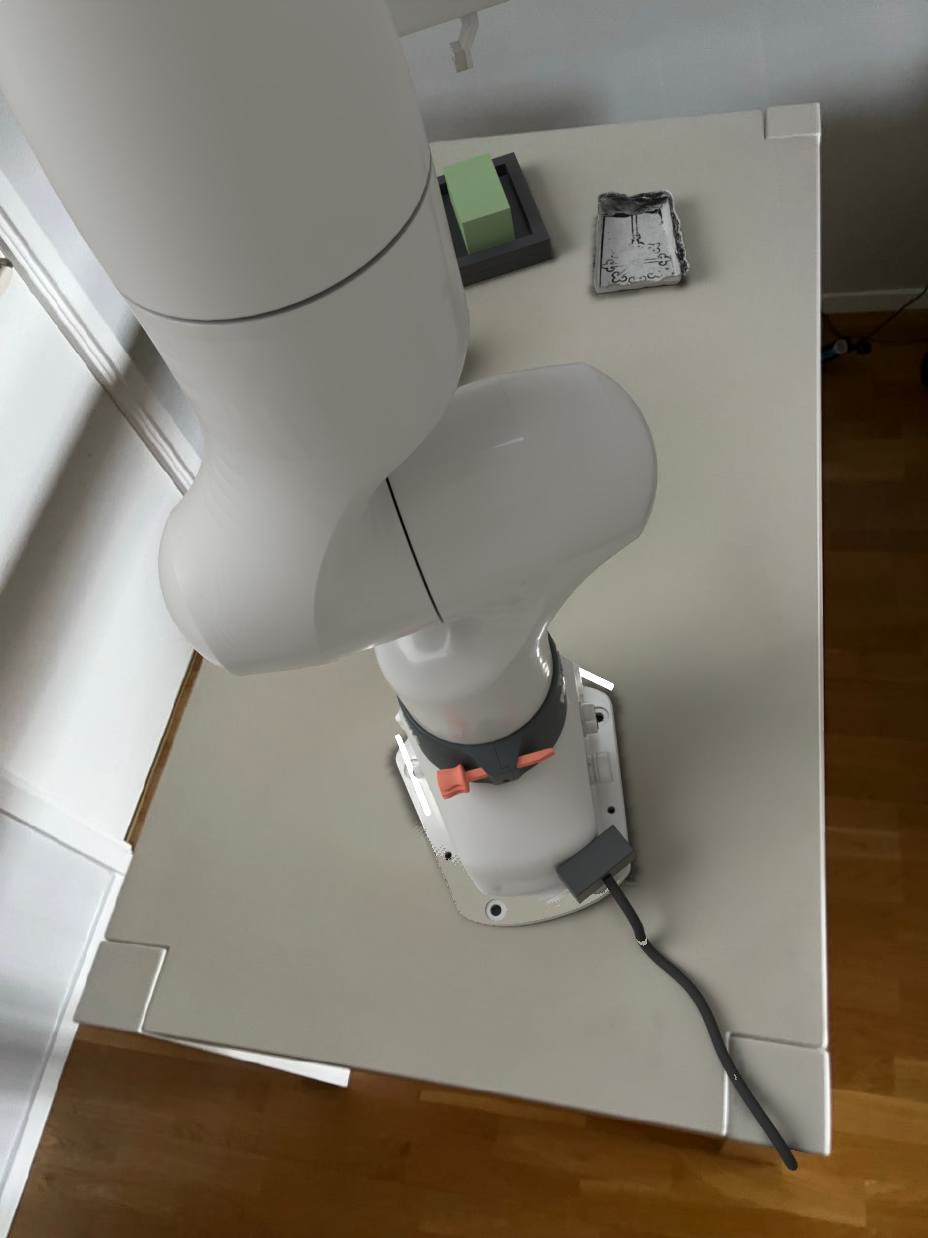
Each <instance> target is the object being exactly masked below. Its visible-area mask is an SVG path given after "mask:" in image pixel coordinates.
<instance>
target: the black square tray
mask: <svg viewBox="0 0 928 1238" xmlns="http://www.w3.org/2000/svg"><path fill="white" fill-rule="evenodd" d="M491 159H492V162H493V164H494V167H495V170H496V172H497V175H498V177H499V180H500V182H501V185H502V188H503V190H504V193H505V195H506V198H507V201H508V203H509V206H510V209H511V215H512V222H513V228H514V234H515V240H513V241H510V242H507V243H504V244H501V245H498V246H495V247H492V248H489V249H485V250H482V251H479V252H476V253H473V254H470V255H469V254H468V251H467V248H466V245H465V242H464V239H463V236H462V233H461V230H460V227H459V224H458V221H457V218H456V215H455V212H454V209H453V206H452V204H451V200H450V196H449V192H448V187H447V183H446V179H445V174H442V175H439V176H438V175H437V179H438V184H439V188H440V192H441V196H442V200H443V204H444V209H445V213H446V217H447V221H448V225H449V230H450V234H451V238H452V242H453V246H454V251H455V255H456V259H457V263H458V267H459V271H460V275H461V279H462V283H463V287H465V286H469V285H472V284H475V283H478V282H481V281H484V280H487V279H491V278H493V277H497V276H500V275H503V274H507V273H509V272H510V273H511V272H512V271H516V270H519V269H522V268H526V267H528V266H531V265H535V264H537V263H541V262H543V261H547V260H551V259H553V253H552V252H553V251H552V243H551V237H550V235H549V233H548V230H547V228H546V226H545V223H544V220H543V218H542V216H541V214H540V210H539V209H538V206H537V205H536V202H535V199H534V197H533V195H532V192H531V190H530V187H529V185H528V182H527V180H526V177H525V174H524V173H523V170H522V168H521V165H520V163H519V161H518V158H517V156H516V153H515V152H514V151H511V152H510V153H506V154H503V155H500V156H496V157H494V158H491Z"/></svg>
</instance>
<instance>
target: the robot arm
mask: <svg viewBox="0 0 928 1238" xmlns="http://www.w3.org/2000/svg"><path fill="white" fill-rule="evenodd" d="M509 1H510V0H0V91H1V93H2V95H3V97H4V99H5V102H6V103H7V106H8V107H9V110H10V112H11V114H12V115H13V117H14V119H15V121H16V123H17V125H18V127H19V128H20V130H21V132H22V134H23V136H24V138H25V139H26V141H27V144H28V145H29V147H30V149H31V151H32V152H33V155H34V156H35V159H36V161H37V162H38V164H39V166H40V168H41V169H42V171H43V173H44V175H45V177H46V179H47V180H48V182H49V184H50V186H51V188H52V189H53V191H54V192H55V194H56V196H57V198H58V199H59V201H60V202H61V204H62V206H63V207H64V209H65V211H66V213H67V214H68V216H69V218H70V219H71V221H72V223H73V225H74V226H75V228H76V229H77V231H78V233H79V235H80V236H81V238H82V239H83V241H84V242H85V244H86V245H87V247H88V248H89V250H90V252H91V253H92V254H93V256H94V258H95V259H96V261H97V262H98V263H99V265H100V267H101V268H102V270H103V272H104V273H105V274H106V276H107V278H108V279H109V280H110V282H111V283H112V284H113V286H114V288H115V289H116V291H117V292H118V293H119V295H120V297H121V298H122V299H123V300H124V302H125V304H126V305H127V306H128V308H129V309H130V311H131V312H132V314H133V315H134V316H135V318H136V320H137V321H138V323H139V324H140V326H141V327H142V329H143V330H144V332H145V333H146V335H147V336H148V337H149V338H148V339H150V341H151V342H152V344H153V345H154V347H155V349H156V350H157V352H158V354H159V355H160V357H161V358H162V360H163V361H164V363H165V364H166V366H167V368H168V370H169V371H170V373H171V375H172V376H173V378H174V379H175V381H176V383H177V384H178V386H179V388H180V391H182V393H183V395H184V397H185V399H186V401H187V403H188V404H189V406H190V408H191V410H192V412H193V414H194V416H195V417H196V420H197V422H198V425H199V428H200V432H201V437H202V444H203V445H202V446H203V448H202V449H203V451H202V457H201V462H200V464H199V469H198V470H197V473H196V476H195V478H194V480H193V482H192V483H191V485H190V487H189V488H188V489H187V491H186V493H185V494H184V495H183V496H182V498H181V499H180V500H179V501H178V502H177V504H175V505H174V506H173V508H172V509H171V511H170V512H169V515H168V516H167V519H166V522H165V523H164V526H163V530H162V533H161V537H160V541H159V542H160V543H159V548H158V555H157V556H158V557H157V573H158V582H159V587H160V592H161V596H162V600H163V603H164V605H165V608H166V610H167V613H168V615H169V617H170V619H171V620H172V623H173V624H174V626H175V627H176V629H177V631H178V632H179V633H180V635H181V636H182V637H183V639H185V641H186V642H187V644H189V646H191V648H192V649H194V650H195V651H196V652H197V653H198V654H199V655H200V656H202V658H204V659H205V660H206V661H208V662H210V663H211V664H212V665H214V666H216V667H218V668H219V669H221V670H223V671H225V672H227V673H229V674H232V675H233V676H236V677H246V676H255V675H262V674H272V673H277V672H278V673H281V672H287V671H293V670H298V669H305V668H309V667H310V668H311V667H316V666H323V665H329V664H331V663H334V662H337V661H340V660H342V659H345V658H348V657H351V656H354V655H356V654H359V653H362V652H365V651H368V650H371V649H374V654H375V659H376V661H377V665H378V667H379V670H380V671H381V674H382V675H383V677H384V678H385V680H386V681H387V683H388V684H389V686H390V687H391V689H392V690H393V691H394V692H395V694H396V698H397V701H398V705H399V709H398V712H397V714H396V715H395V716H394V717H395V721H396V723H397V724H399V726H400V727H401V728H402V729H403V730H404V732H405V733H406V737H407V738H406V740H405V741H404V742H403V739H402V737H401V736H400V734H397V735H395V739H396V741H397V744H398V746H399V748H398V750H397V751H396V755H395V763H396V766H397V768H398V771H399V773H400V776H401V779H402V780H403V783H404V785H405V788H406V791H407V793H408V795H409V798H410V799H411V802H412V804H413V805H414V809H415V811H416V813H417V816H418V818H419V821H420V823H421V825H422V827H423V830H424V833H425V835H426V834H427V835H426V838H427V839H428V838H429V840H428V842H429V841H431V844H433V845H432V847H431V849H432V848H433V849H434V847H436V848H435V849H434V851H433V849H432V851H433V853H434V852H436V850H438V849H439V850H438V852H437V853H436V856H437V855H439V853H441V852H442V853H441V855H440V856H443V855H444V854H443V853H445V856H444V857H445V858H446V859H448V860H449V859H450V858H452V857H455V855H457V856H456V857H455V858H454V859H453V860H452V862H454V860H457V859H456V858H460V859H459V860H458V861H461V862H462V864H461V865H463V866H464V868H465V870H466V871H467V873H468V875H469V876H470V877H471V879H472V880H473V881H474V883H475V885H476V886H477V888H478V889H479V890H480V891H481V892H482V893H484V894H485V895H489V896H492V897H495V896H496V897H502V898H504V897H510V898H512V897H515V896H520V897H528V898H531V897H534V896H533V895H535V896H538V895H541V897H540V898H539V899H538V900H542V899H546V898H549V897H552V896H555V895H558V896H556V897H554V898H552V899H550V900H549V901H547V902H546V903H549V902H552V903H553V901H555V902H557V901H556V900H559V899H561V898H562V897H565V896H567V895H566V894H568V893H571V894H572V896H573V897H574V898H575V899H576V901H577V902H578V903H579V904H581V903H582V902H583V901H584V900H585V899H587V898H588V897H589V896H590V895H592V894H595V895H596V894H600V893H602V894H603V892H604V893H605V890H606V889H607V888H608V890H609V891H607V892H606V893H605V894H603V895H602V896H600V897H599V898H597V899H595V900H593V901H591V902H590V903H587V904H585V905H583V906H581V907H579V908H576V909H573V910H571V911H568V912H565V913H562V914H559V915H555V916H552V917H548V918H544V919H540V920H535V921H529V922H523V923H513V924H496V923H488V924H487V925H486V926H491V927H520V926H521V927H522V926H528V925H533V924H538V923H543V922H547V921H551V920H555V919H558V918H561V917H564V916H569V915H571V914H574V913H576V912H579V911H581V910H583V909H586V908H588V907H590V906H592V905H594V904H596V903H598V902H600V901H601V900H603V899H604V898H605V897H607V896H609V895H610V894H611V896H612V897H613V899H614V900H615V902H616V903H617V906H618V907H619V908H620V910H621V911H622V913H623V915H624V916H625V918H626V919H627V921H628V922H629V924H630V926H631V928H632V929H633V930H632V931H633V933H634V937H635V940H636V939H637V940H638V941H640V942H642V941H645V939H646V937H647V935H646V931H645V927H644V924H643V922H642V920H641V919H640V917H639V914H638V913H637V911H636V910H635V908H634V907H633V906H632V904H631V902H630V901H629V899H628V897H627V896H626V895H625V893H624V891H623V890H622V889H621V887H620V885H621V884H622V883H623V882H624V881H625V880H626V878H627V877H628V876H629V874H630V873H631V869H632V863H633V861H635V860H636V852H635V848H634V847H633V846H632V845H631V843H630V842H629V833H628V825H627V815H626V808H625V799H624V792H623V791H624V790H623V784H622V774H621V765H620V757H619V748H618V740H617V732H616V722H615V714H614V705H613V703H612V701H611V697H610V696H609V695H608V694H607V693H605V692H604V691H602V690H600V689H597V688H594V687H592V686H587V685H583V679H582V678H585V679H587V680H589V681H592V682H594V683H595V684H597V685H600V686H602V687H604V688H606V689H608V690H610V691H612V690H613V688H614V683H612V682H610V681H608V680H606V679H604V678H601V677H599V676H597V675H595V674H593V673H591V672H590V671H587V670H585V669H583V668H581V667H580V665H579V663H577V662H574V660H572V659H570V658H568V657H566V656H564V655H562V654H560V652H559V650H558V649H557V644H556V642H555V641H554V639H553V637H552V636H551V633H550V632H549V630H548V628H549V625H550V624H551V622H552V621H553V619H554V618H555V616H556V615H557V614H558V612H559V611H560V609H561V608H562V607H563V606H564V604H565V603H566V602H567V600H568V599H569V598H570V597H571V596H572V594H573V593H574V592H575V591H576V590H577V589H578V588H579V587H580V586H581V585H582V583H583V582H585V580H586V579H588V578H589V577H590V576H591V575H592V574H593V573H594V572H595V571H596V570H598V569H599V568H600V567H601V566H602V565H604V564H605V563H606V562H607V561H609V560H610V559H611V558H612V557H614V556H615V555H617V553H619V552H620V551H622V550H623V549H625V548H626V547H628V546H629V545H630V544H632V543H633V542H634V541H636V540H638V539H639V538H640V537H641V535H642V533H643V532H644V529H645V528H646V526H647V523H648V521H649V519H650V516H651V515H652V514H651V513H652V511H653V508H654V504H655V500H656V497H657V496H656V495H657V490H658V476H659V475H658V474H659V473H658V472H659V469H658V468H659V465H658V456H657V451H656V445H655V444H656V443H655V441H654V437H653V434H652V431H651V429H650V426H649V423H648V422H647V420H646V418H645V416H644V414H643V411H642V410H641V409H640V407H639V406H638V405H637V403H636V401H635V400H634V399H633V397H632V396H631V395H630V394H629V393H628V391H626V390H625V389H624V388H623V386H622V385H620V384H619V383H618V382H617V381H616V380H614V378H612V377H611V376H610V375H608V374H607V373H605V372H603V371H601V369H599V368H597V367H595V366H593V365H591V364H588V363H586V362H583V361H577V362H569V363H562V364H554V365H546V366H537V367H533V368H531V367H530V368H526V369H520V370H514V371H513V370H512V371H508V372H501V373H495V374H491V375H488V376H485V377H483V378H480V379H476V380H473V381H471V382H469V383H466V384H463V385H460V386H458V385H459V382H460V379H461V376H462V372H463V369H464V365H465V361H466V357H467V351H468V347H469V339H470V329H471V325H470V324H471V321H470V319H471V318H470V311H469V310H470V308H469V304H468V300H467V296H466V292H465V288H464V286H463V283H462V279H461V275H460V271H459V267H458V263H457V259H456V255H455V251H454V246H453V242H452V238H451V234H450V230H449V225H448V221H447V217H446V213H445V209H444V204H443V200H442V196H441V192H440V188H439V184H438V179H437V177H438V175H437V172H436V167H435V163H434V157H433V154H432V150H431V146H430V143H429V138H428V134H427V129H426V127H425V124H424V123H425V122H424V120H423V116H422V111H421V108H420V104H419V100H418V96H417V92H416V89H415V85H414V82H413V79H412V76H411V73H410V69H409V67H408V63H407V60H406V57H405V54H404V51H403V47H402V44H401V41H400V38H403V37H405V36H408V35H411V34H415V33H417V32H421V31H423V30H427V29H429V28H433V27H435V26H439V25H442V24H445V23H447V22H450V21H454V20H456V19H457V20H459V22H460V24H461V27H460V30H459V31H460V32H459V35H458V40H455V41H453V42H450V43H449V49H450V53H451V60H452V63H453V66H454V69H455V72H456V73H457V74H458V73H461V72H464V71H468V70H470V69H473V68H474V64H473V59H472V53H471V49H472V48H473V44H474V41H475V38H476V35H477V32H478V29H479V26H480V22H479V21H480V20H479V15H478V12H481V11H483V10H485V9H486V10H487V9H490V8H492V7H496V6H498V5H502V4H504V3H508V2H509ZM598 716H600V717H602V718H603V719H602V721H600V722H599V720H598V719H597V717H598ZM610 810H613V811H614V812H612V813H610V812H609V811H610ZM425 829H426V830H425ZM425 831H426V832H425ZM431 844H430V845H431ZM442 845H443V846H442ZM440 847H441V848H440ZM443 848H446V849H445V850H444V849H443ZM442 850H444V851H442ZM445 851H449V852H445ZM449 855H451V856H450V858H448V856H449ZM436 856H435V859H436V860H437V858H436ZM440 856H439V857H440ZM443 859H444V858H443ZM441 861H442V860H441ZM458 861H457V863H459V862H458ZM438 865H439V864H438ZM455 865H456V864H455ZM461 865H460V866H461ZM439 867H440V865H439ZM463 870H464V869H463ZM441 874H443V872H442V871H441ZM443 877H444V876H443ZM444 879H445V877H444ZM617 880H618V881H619V880H620V881H619V882H618V881H617ZM617 882H618V883H617ZM446 885H447V886H448V884H447V883H446ZM566 889H568V890H569V891H567V890H566ZM564 890H566V891H567V892H565V893H563V894H560V892H561V893H562V891H563V892H564ZM449 892H450V893H451V891H450V890H449ZM554 894H555V895H554ZM559 894H560V895H559ZM551 895H552V896H551ZM564 895H565V896H564ZM568 895H569V894H568ZM530 896H531V897H530ZM548 896H549V897H548ZM561 896H562V897H561ZM451 897H452V899H453V900H454V898H453V896H452V895H451ZM544 897H545V898H544ZM560 897H561V898H560ZM516 898H517V897H516ZM541 898H542V899H541ZM538 900H537V901H538ZM546 900H547V899H546ZM559 901H560V900H559ZM546 903H545V904H546ZM549 904H550V903H549ZM546 905H547V904H546ZM455 906H456V908H457V910H458V911H459V909H458V907H457V905H456V904H455ZM558 906H560V905H558ZM495 907H500V908H501V909H500V910H501V911H500V913H499V914H498V915H494V914H493V909H494V908H495ZM556 907H557V906H556ZM506 911H507V908H506V905H505V903H504V902H503V901H502V900H500V899H492V900H490V901H489V902H488V903H487V904H486V907H485V914H486V916H487V918H488V919H489V920H490V919H491V921H494V922H497V921H500V920H502V919H503V918H504V917H505V915H506ZM459 913H460V915H461V914H462V913H461V912H459ZM492 917H493V918H492ZM467 920H468V921H471V919H470V918H469V919H467ZM477 922H479V921H477V920H475V921H474V922H473V923H477ZM479 924H480V925H485V923H484V922H482V921H481V923H479ZM492 924H495V926H493V925H492ZM502 925H503V926H502ZM637 940H636V941H637ZM637 944H638V945H639V948H640V949H641V950H642V951H643V952H644V953H645V954H646V955H647V957H648V958H649V959H650V960H651V961H652V962H653V963H655V964H656V965H657V966H658V967H659V968H660V969H661V970H662V971H664V972H665V973H666V974H667V975H669V976H670V977H671V978H672V979H673V980H674V981H675V982H676V983H677V984H678V985H680V987H681V988H682V989H683V990H684V991H685V992H686V993H687V994H688V996H689V997H690V998H691V1000H692V1002H693V1003H694V1004H695V1006H696V1008H697V1010H698V1012H699V1014H700V1015H701V1018H702V1020H703V1022H704V1024H705V1027H706V1030H707V1033H708V1035H709V1038H710V1041H711V1043H712V1046H713V1048H714V1050H715V1053H716V1055H717V1057H718V1060H719V1062H720V1064H721V1066H722V1067H723V1070H724V1071H725V1073H726V1075H727V1077H728V1078H729V1080H730V1081H731V1083H732V1085H733V1087H734V1088H735V1090H736V1091H737V1093H738V1095H739V1096H740V1097H741V1099H742V1101H743V1103H744V1104H745V1105H746V1107H747V1108H748V1111H750V1113H751V1114H752V1116H753V1117H754V1119H755V1120H756V1122H757V1123H758V1124H759V1126H760V1127H761V1129H762V1130H763V1132H764V1133H765V1135H766V1136H767V1138H768V1139H769V1141H770V1142H771V1144H772V1146H773V1147H774V1148H775V1147H776V1148H775V1150H776V1152H777V1153H778V1155H779V1157H780V1158H781V1161H783V1164H784V1165H785V1167H786V1168H787V1170H790V1171H791V1172H795V1171H797V1170H798V1168H799V1165H798V1161H797V1159H796V1157H795V1156H794V1154H793V1152H792V1151H791V1148H790V1147H789V1145H788V1144H787V1142H786V1141H785V1139H784V1138H783V1136H782V1135H781V1133H780V1132H779V1130H778V1128H777V1127H776V1126H775V1125H774V1123H773V1121H772V1120H771V1119H770V1117H769V1115H768V1114H767V1112H766V1111H765V1110H764V1109H763V1107H762V1105H761V1104H760V1103H759V1101H758V1100H757V1098H756V1097H755V1095H754V1094H753V1093H752V1091H751V1089H750V1088H749V1086H748V1085H747V1083H746V1081H745V1080H744V1078H743V1077H742V1075H741V1073H740V1071H739V1069H738V1068H737V1066H736V1065H735V1063H734V1061H733V1058H732V1057H731V1055H730V1052H729V1051H728V1049H727V1046H726V1044H725V1042H724V1041H725V1040H724V1039H723V1036H722V1034H721V1031H720V1028H719V1026H718V1023H717V1021H716V1018H715V1016H714V1013H713V1011H712V1009H711V1007H710V1006H709V1005H710V1004H708V1002H707V1000H706V998H705V997H704V996H703V994H702V992H701V991H700V990H699V988H698V987H697V986H696V984H694V982H693V981H692V980H691V979H690V978H689V977H688V976H687V975H686V974H685V973H684V972H683V971H682V970H681V969H680V968H679V967H677V966H676V965H674V963H673V962H671V961H670V960H668V959H667V957H665V956H664V955H663V954H662V953H661V952H659V951H658V949H657V948H655V946H654V945H653V944H652V942H650V940H649V939H648V938H647V944H646V945H644V946H643V945H640V944H639V943H638V942H637ZM734 1074H735V1075H736V1077H737V1078H736V1079H737V1080H735V1076H734Z"/></svg>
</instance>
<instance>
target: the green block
mask: <svg viewBox="0 0 928 1238" xmlns="http://www.w3.org/2000/svg"><path fill="white" fill-rule="evenodd" d="M492 159H493V158H492V157H491V154H490V152H487V153H484V154H481V155H478V156H475V157H472V158H468V159H466V160H463V161H460V162H456V163H453V164H450V165H447V166H444V167H442V170H443V173H444V174H443V175H445V179H446V183H447V187H448V192H449V196H450V200H451V204H452V206H453V209H454V212H455V215H456V218H457V221H458V224H459V227H460V230H461V233H462V236H463V239H464V242H465V245H466V248H467V251H468V254H469V255H470V254H473V253H476V252H479V251H482V250H485V249H489V248H492V247H495V246H498V245H501V244H504V243H507V242H510V241H513V240H515V234H514V228H513V222H512V215H511V209H510V206H509V203H508V201H507V198H506V195H505V193H504V190H503V188H502V185H501V182H500V180H499V177H498V175H497V172H496V170H495V167H494V164H493V162H492Z"/></svg>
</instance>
